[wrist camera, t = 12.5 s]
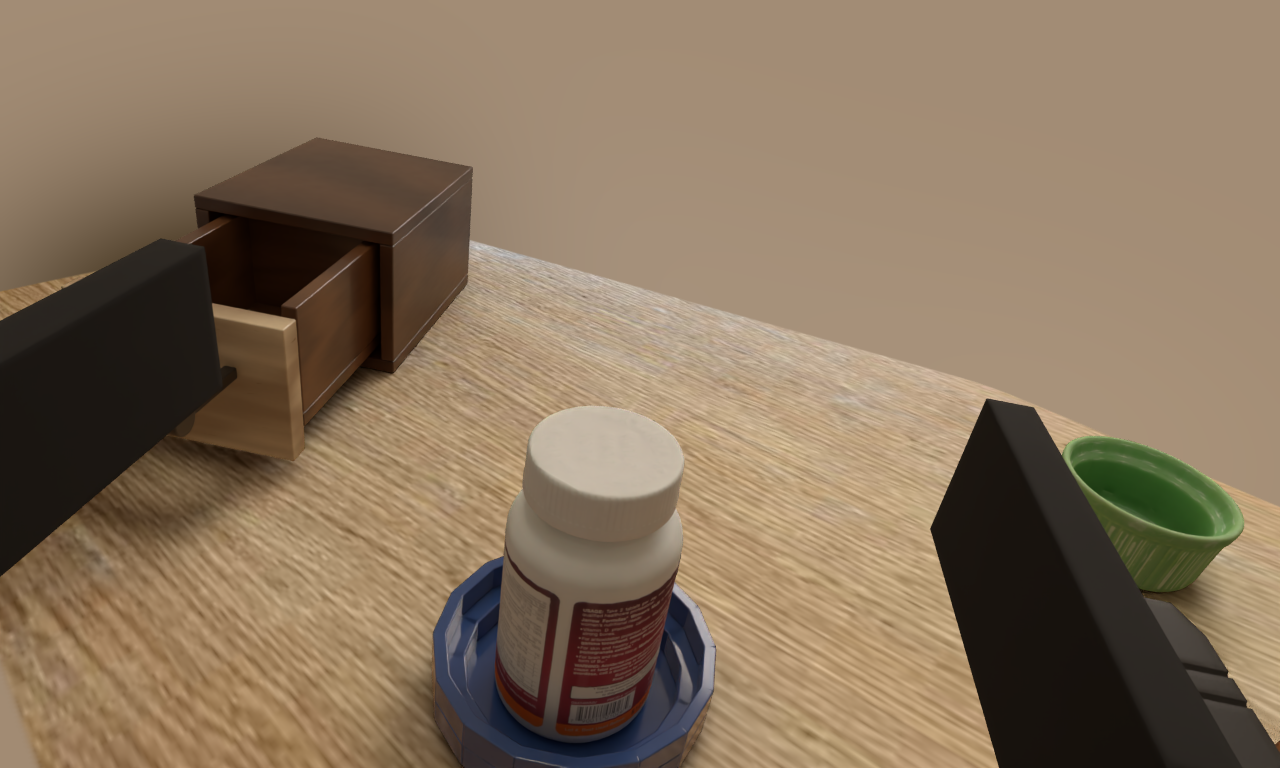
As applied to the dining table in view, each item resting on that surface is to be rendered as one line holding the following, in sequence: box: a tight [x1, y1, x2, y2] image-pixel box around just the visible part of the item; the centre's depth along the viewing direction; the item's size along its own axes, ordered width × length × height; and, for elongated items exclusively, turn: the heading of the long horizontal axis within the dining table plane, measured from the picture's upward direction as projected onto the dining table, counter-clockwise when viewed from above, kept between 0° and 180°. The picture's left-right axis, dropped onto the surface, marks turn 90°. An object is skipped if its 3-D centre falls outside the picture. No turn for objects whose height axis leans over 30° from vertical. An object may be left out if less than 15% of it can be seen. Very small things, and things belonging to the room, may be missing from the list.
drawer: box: [61, 214, 381, 461], centre depth 42 cm, size 18×10×7 cm, turn 173°
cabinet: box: [194, 138, 473, 373], centre depth 54 cm, size 15×12×9 cm
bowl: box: [432, 556, 716, 768], centre depth 31 cm, size 11×11×3 cm
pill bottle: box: [495, 406, 684, 743], centre depth 29 cm, size 6×6×11 cm
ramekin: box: [1062, 436, 1244, 592], centre depth 44 cm, size 9×9×4 cm
